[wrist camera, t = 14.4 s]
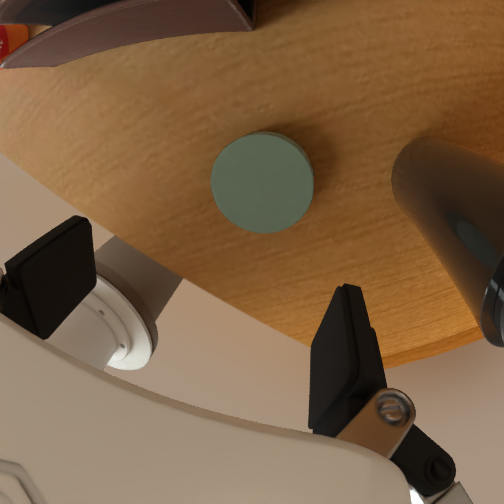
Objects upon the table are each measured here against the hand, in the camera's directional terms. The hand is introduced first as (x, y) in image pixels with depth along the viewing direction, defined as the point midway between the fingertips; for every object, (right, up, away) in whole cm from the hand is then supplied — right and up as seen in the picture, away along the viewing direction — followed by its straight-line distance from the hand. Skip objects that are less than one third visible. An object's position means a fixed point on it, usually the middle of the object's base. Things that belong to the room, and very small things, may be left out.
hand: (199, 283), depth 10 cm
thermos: (+15, +7, +8) cm, 19 cm away
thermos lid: (+3, +6, +9) cm, 11 cm away
